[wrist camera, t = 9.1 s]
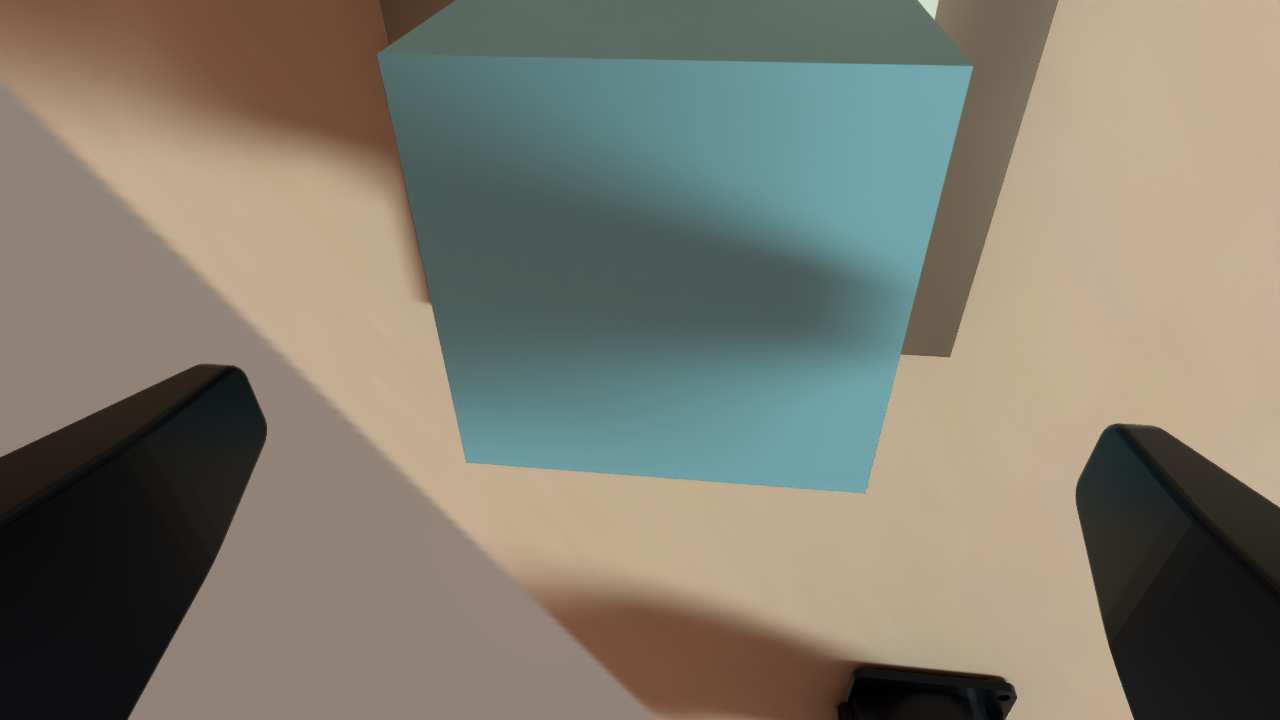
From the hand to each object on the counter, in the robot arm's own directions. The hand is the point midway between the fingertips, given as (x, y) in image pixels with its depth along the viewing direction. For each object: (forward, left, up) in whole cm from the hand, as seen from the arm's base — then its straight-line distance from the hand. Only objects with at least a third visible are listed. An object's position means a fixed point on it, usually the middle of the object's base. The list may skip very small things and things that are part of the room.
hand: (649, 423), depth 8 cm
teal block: (0, 0, -8) cm, 8 cm away
